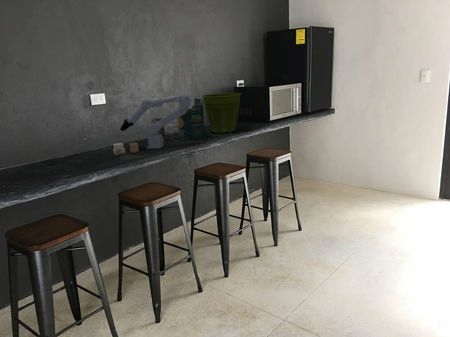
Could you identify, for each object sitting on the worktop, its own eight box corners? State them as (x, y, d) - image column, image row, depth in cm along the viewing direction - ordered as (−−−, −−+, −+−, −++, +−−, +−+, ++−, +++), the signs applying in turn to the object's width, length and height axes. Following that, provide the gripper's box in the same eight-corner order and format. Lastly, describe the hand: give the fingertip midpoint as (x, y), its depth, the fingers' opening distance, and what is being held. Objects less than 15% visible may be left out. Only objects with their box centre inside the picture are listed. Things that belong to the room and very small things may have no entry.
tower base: (124, 151, 244) (123, 147, 243) (125, 153, 238) (124, 149, 237) (113, 153, 241) (113, 148, 241) (114, 155, 235) (114, 150, 235)
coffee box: (161, 142, 268) (159, 119, 264) (152, 142, 269) (150, 119, 265) (165, 139, 276) (163, 117, 272) (157, 139, 278) (155, 117, 274)
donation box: (205, 138, 272) (203, 99, 265) (184, 141, 266) (181, 101, 258) (197, 135, 286) (194, 98, 279) (177, 138, 280) (173, 100, 272)
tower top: (122, 147, 242) (122, 142, 241) (123, 149, 237) (123, 144, 236) (114, 148, 240) (113, 143, 240) (114, 150, 235) (114, 145, 235)
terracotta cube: (137, 150, 246) (136, 142, 244) (138, 151, 242) (137, 143, 240) (130, 151, 244) (129, 143, 243) (131, 152, 240) (130, 144, 239)
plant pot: (219, 127, 318) (217, 93, 311) (249, 129, 301) (248, 93, 293) (197, 133, 295) (194, 96, 288) (228, 136, 278) (226, 96, 270)
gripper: (133, 110, 250) (119, 125, 250) (130, 110, 236) (115, 126, 236) (141, 117, 251) (127, 132, 252) (138, 118, 237) (124, 133, 238)
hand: (122, 129), depth 244 cm, fingers open, 7 cm apart
